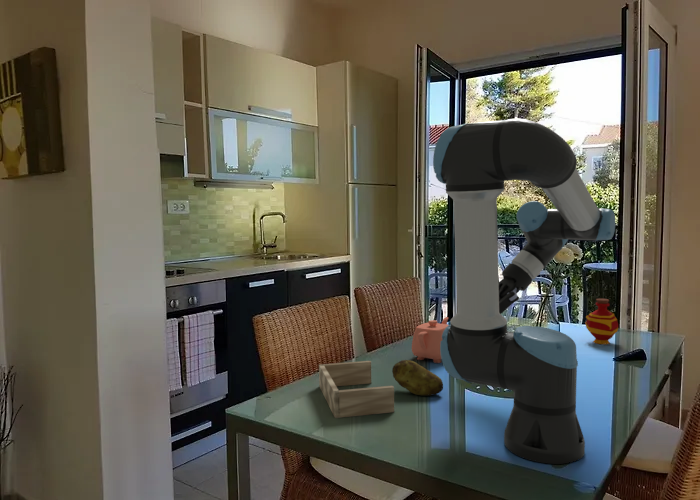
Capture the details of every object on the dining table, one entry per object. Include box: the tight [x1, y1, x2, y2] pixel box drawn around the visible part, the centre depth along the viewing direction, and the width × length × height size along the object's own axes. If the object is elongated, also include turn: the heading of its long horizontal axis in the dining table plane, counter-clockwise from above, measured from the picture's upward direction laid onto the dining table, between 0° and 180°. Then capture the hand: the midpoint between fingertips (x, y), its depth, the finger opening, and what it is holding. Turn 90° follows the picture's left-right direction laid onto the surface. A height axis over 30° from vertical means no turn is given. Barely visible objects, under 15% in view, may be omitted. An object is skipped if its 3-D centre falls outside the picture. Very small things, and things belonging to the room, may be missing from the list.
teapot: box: [411, 316, 450, 364], centre depth 171 cm, size 20×12×12 cm, turn 145°
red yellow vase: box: [584, 298, 619, 345], centre depth 186 cm, size 10×10×15 cm
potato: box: [391, 359, 444, 396], centre depth 140 cm, size 8×13×8 cm, turn 46°
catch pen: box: [318, 360, 395, 419], centre depth 137 cm, size 22×14×6 cm, turn 12°
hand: (463, 337), depth 143 cm, fingers closed
